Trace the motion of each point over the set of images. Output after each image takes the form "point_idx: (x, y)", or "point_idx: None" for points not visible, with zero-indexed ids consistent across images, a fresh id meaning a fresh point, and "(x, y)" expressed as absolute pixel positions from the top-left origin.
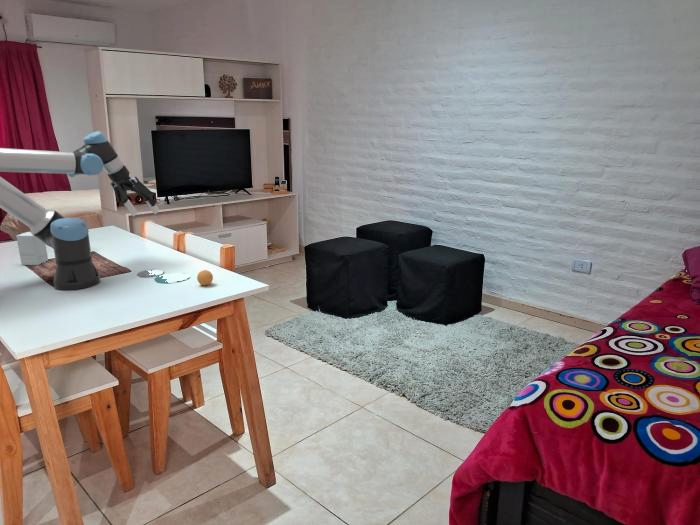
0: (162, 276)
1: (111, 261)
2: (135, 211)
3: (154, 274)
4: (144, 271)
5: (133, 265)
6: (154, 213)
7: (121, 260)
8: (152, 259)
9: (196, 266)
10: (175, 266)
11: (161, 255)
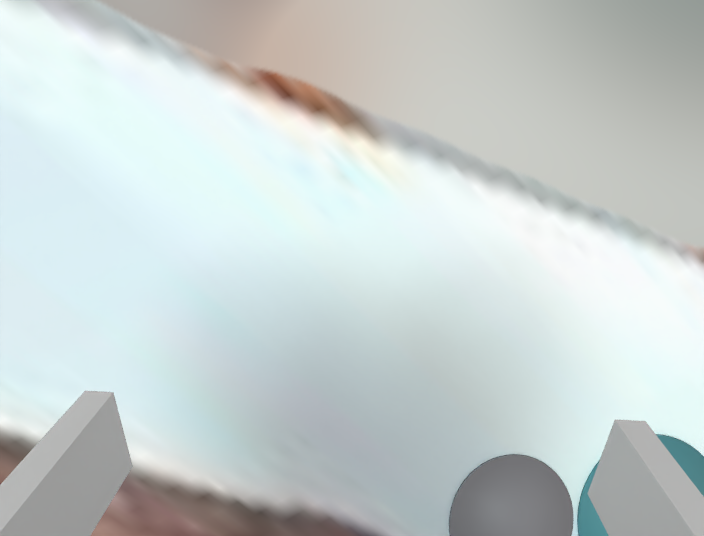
0: (602, 529)
1: None
2: (94, 448)
3: (545, 527)
4: (463, 518)
5: (309, 461)
6: (605, 505)
7: (153, 424)
8: (306, 320)
9: (611, 313)
10: (522, 363)
11: (284, 229)
